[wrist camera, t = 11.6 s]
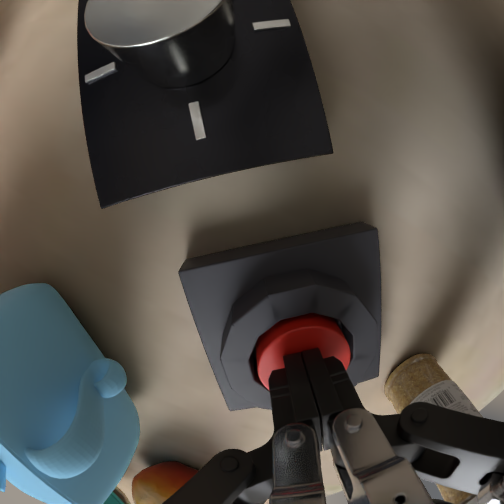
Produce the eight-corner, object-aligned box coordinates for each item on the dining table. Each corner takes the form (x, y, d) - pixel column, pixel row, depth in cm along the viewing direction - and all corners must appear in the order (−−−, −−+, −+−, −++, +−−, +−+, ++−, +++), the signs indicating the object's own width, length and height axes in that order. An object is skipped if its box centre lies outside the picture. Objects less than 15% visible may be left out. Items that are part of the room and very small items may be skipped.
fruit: (206, 507, 20) (165, 548, 12) (156, 458, 22) (105, 491, 15) (256, 489, 18) (216, 544, 11) (196, 433, 21) (138, 475, 13)
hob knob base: (102, 19, 9) (76, -4, 6) (262, -24, 9) (266, -57, 6) (128, 200, 13) (98, 210, 10) (313, 156, 12) (335, 153, 9)
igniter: (184, 259, 13) (167, 288, 10) (363, 221, 13) (397, 237, 10) (230, 392, 16) (228, 434, 13) (369, 360, 16) (390, 396, 12)
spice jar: (383, 405, 17) (448, 544, 4) (382, 366, 16) (474, 531, 3) (432, 381, 17) (512, 499, 4) (437, 340, 16) (545, 470, 3)
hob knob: (139, 102, 9) (80, 69, 4) (127, 23, 7) (81, -28, 3) (246, 72, 8) (249, 12, 4) (223, -5, 7) (216, -74, 3)
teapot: (-32, 313, 14) (-105, 376, 3) (90, 241, 13) (-86, 366, 2) (39, 419, 17) (-4, 497, 6) (190, 410, 16) (167, 565, 5)
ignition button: (246, 313, 12) (248, 339, 10) (334, 293, 12) (349, 315, 10) (264, 378, 13) (267, 406, 11) (339, 360, 13) (351, 386, 11)
